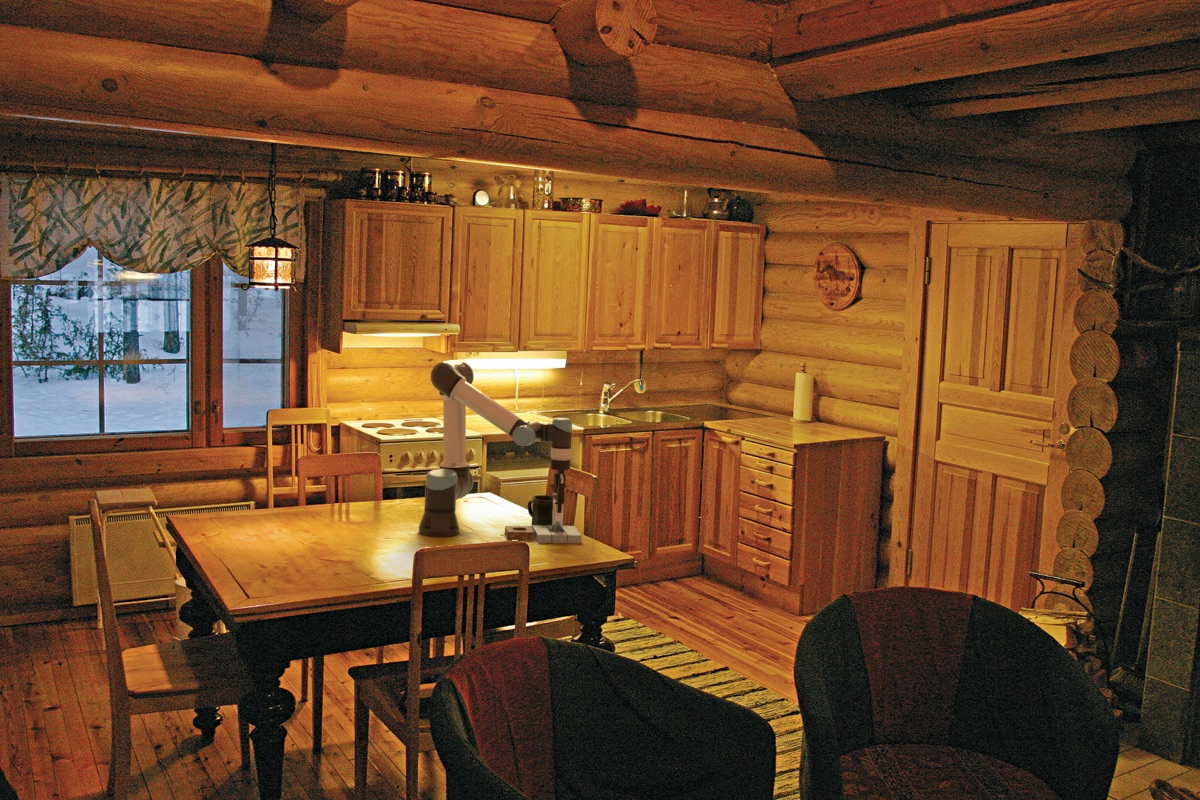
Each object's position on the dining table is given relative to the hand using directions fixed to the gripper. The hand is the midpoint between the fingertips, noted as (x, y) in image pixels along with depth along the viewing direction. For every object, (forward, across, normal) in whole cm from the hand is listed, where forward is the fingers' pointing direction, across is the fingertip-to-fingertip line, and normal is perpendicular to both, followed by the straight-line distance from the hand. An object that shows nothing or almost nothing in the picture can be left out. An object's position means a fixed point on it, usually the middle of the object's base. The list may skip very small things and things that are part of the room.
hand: (557, 519), depth 406 cm
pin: (+5, 0, 0) cm, 5 cm away
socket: (+7, 0, 0) cm, 7 cm away
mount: (+7, +1, +14) cm, 16 cm away
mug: (+7, +19, +3) cm, 21 cm away
